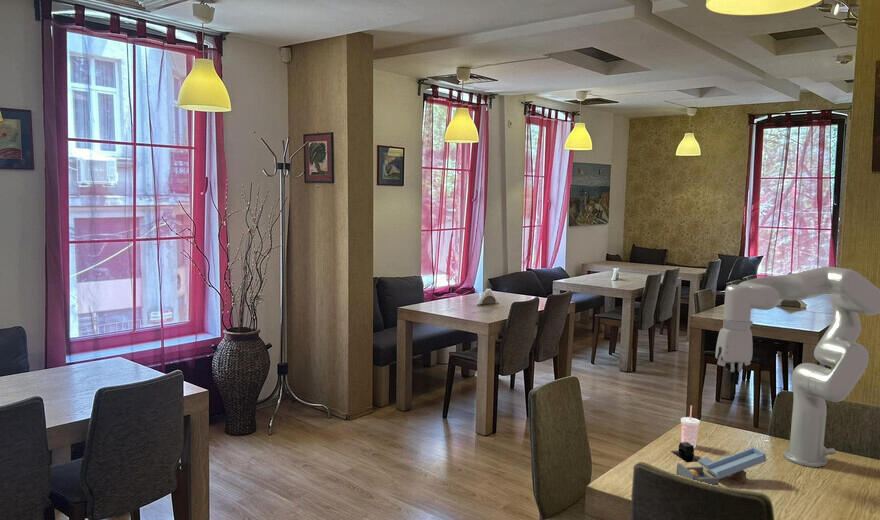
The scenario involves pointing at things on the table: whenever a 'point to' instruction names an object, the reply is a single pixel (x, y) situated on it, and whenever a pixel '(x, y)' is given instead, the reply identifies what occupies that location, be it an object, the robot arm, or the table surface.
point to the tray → (701, 475)
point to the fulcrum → (738, 478)
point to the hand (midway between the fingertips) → (732, 383)
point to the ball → (694, 473)
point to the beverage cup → (690, 429)
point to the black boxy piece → (686, 452)
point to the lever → (734, 462)
